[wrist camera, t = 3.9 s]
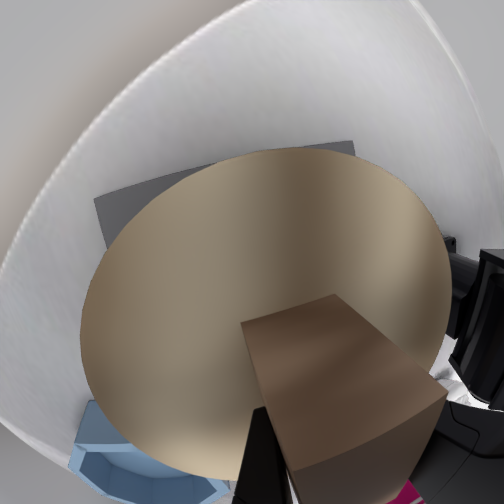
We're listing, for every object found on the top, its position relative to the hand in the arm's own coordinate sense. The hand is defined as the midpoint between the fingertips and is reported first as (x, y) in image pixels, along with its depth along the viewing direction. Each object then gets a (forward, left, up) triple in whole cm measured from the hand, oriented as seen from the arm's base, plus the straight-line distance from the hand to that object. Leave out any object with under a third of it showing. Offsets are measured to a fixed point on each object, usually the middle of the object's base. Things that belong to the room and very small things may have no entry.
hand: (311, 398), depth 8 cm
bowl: (+13, +13, -10) cm, 21 cm away
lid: (0, 0, -2) cm, 2 cm away
